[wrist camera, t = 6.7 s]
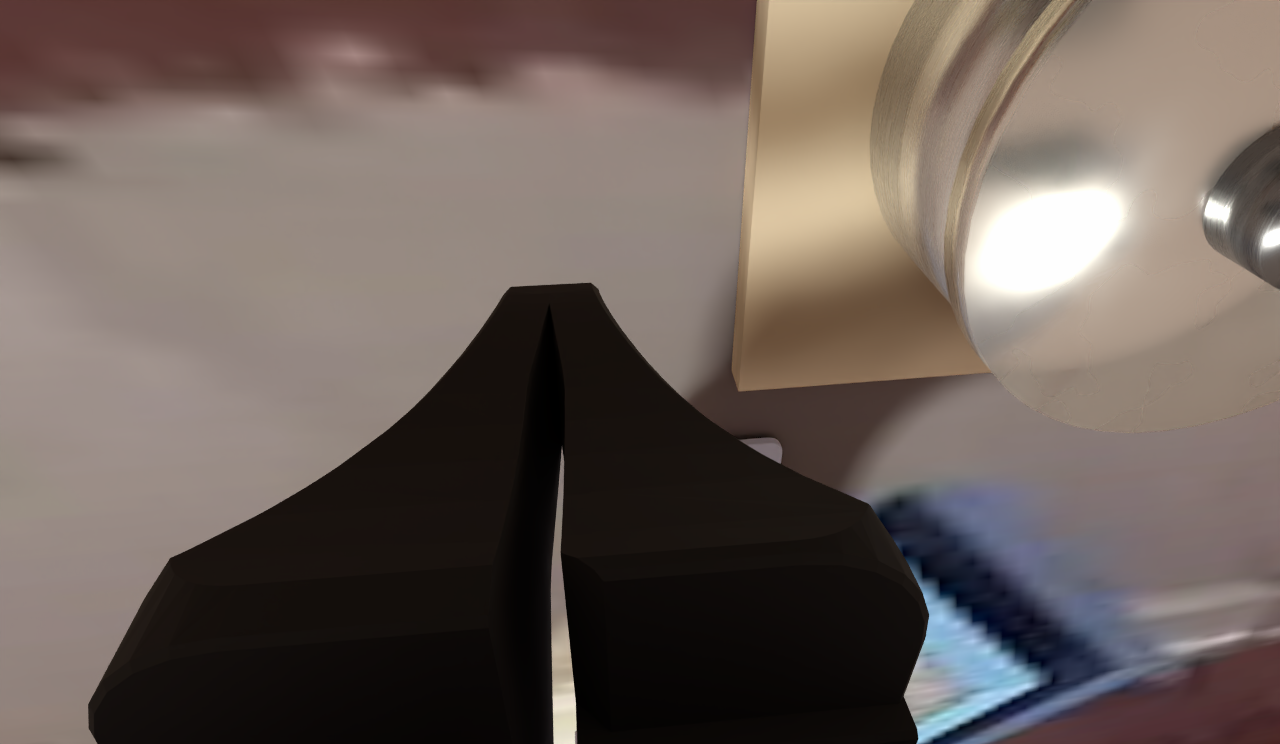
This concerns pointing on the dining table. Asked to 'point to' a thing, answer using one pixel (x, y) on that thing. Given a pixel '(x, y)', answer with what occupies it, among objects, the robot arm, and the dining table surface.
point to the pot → (936, 112)
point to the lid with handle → (1127, 215)
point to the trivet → (828, 215)
